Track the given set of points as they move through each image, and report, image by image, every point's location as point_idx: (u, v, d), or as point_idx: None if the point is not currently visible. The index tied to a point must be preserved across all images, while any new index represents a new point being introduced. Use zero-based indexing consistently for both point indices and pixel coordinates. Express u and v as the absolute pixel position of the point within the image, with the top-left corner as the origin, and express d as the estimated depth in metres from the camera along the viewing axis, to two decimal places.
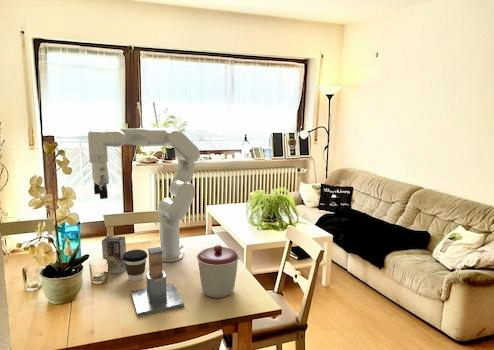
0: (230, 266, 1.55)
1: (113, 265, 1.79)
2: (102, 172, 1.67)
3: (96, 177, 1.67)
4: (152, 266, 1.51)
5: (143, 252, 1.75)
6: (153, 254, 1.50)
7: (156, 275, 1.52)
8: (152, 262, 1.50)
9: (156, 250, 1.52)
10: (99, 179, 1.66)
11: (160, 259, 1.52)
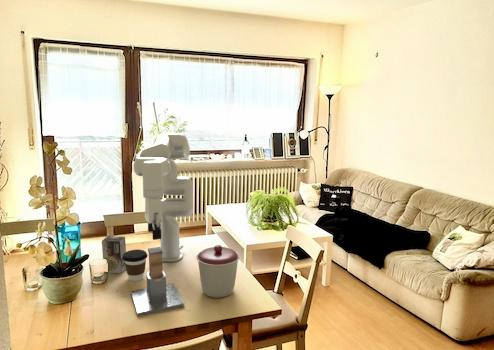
0: (230, 266, 1.55)
1: (113, 265, 1.79)
2: None
3: None
4: (152, 266, 1.51)
5: (143, 252, 1.75)
6: (153, 254, 1.50)
7: (156, 275, 1.52)
8: (152, 262, 1.50)
9: (156, 250, 1.52)
10: None
11: (160, 259, 1.52)
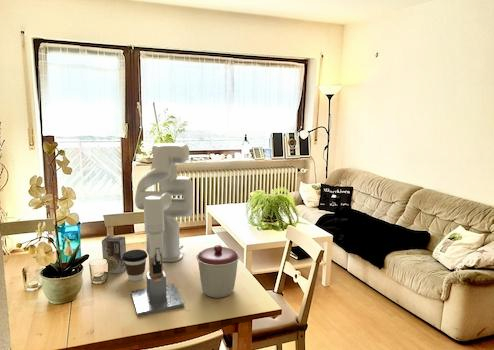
0: (230, 266, 1.55)
1: (113, 265, 1.79)
2: None
3: None
4: (152, 266, 1.51)
5: (143, 252, 1.75)
6: None
7: (156, 275, 1.52)
8: (152, 262, 1.50)
9: None
10: None
11: None
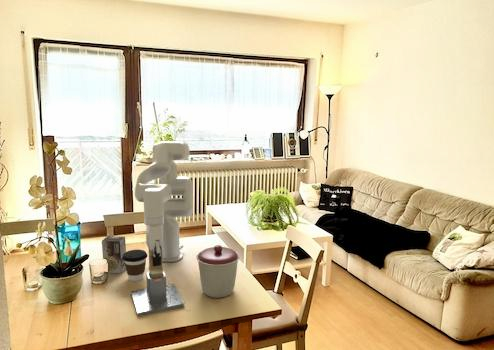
0: (230, 266, 1.55)
1: (113, 265, 1.79)
2: None
3: None
4: (152, 258, 1.50)
5: (143, 252, 1.75)
6: None
7: (156, 268, 1.51)
8: (152, 254, 1.50)
9: None
10: None
11: (160, 251, 1.51)
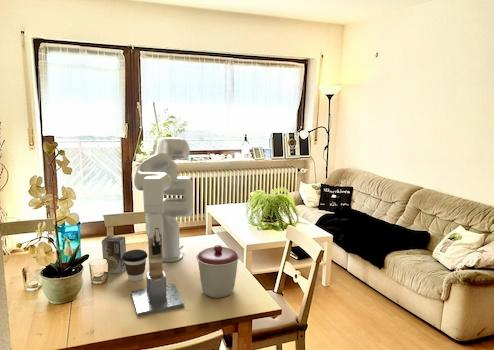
0: (230, 266, 1.55)
1: (113, 265, 1.79)
2: None
3: None
4: (151, 247, 1.49)
5: (143, 252, 1.75)
6: None
7: (155, 256, 1.51)
8: (151, 243, 1.49)
9: None
10: None
11: None
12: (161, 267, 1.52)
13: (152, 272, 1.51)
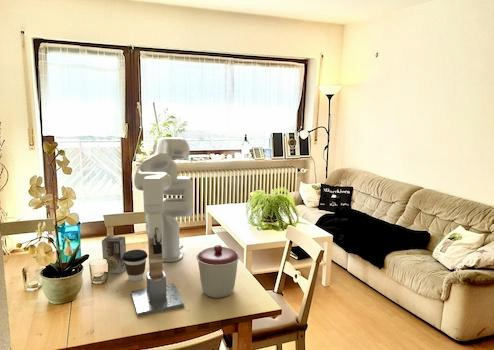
0: (230, 266, 1.55)
1: (113, 265, 1.79)
2: None
3: None
4: (151, 247, 1.49)
5: (143, 252, 1.75)
6: None
7: (155, 256, 1.51)
8: (151, 243, 1.49)
9: None
10: None
11: None
12: (161, 267, 1.52)
13: (152, 272, 1.51)
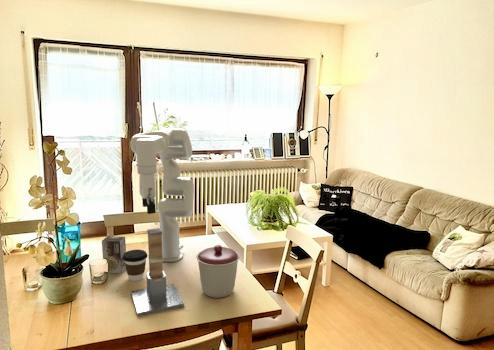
0: (230, 266, 1.55)
1: (113, 265, 1.79)
2: None
3: None
4: (151, 247, 1.49)
5: (143, 252, 1.75)
6: (153, 235, 1.48)
7: (155, 256, 1.51)
8: (151, 243, 1.49)
9: (155, 231, 1.50)
10: None
11: (159, 240, 1.50)
12: (161, 267, 1.52)
13: (152, 272, 1.51)
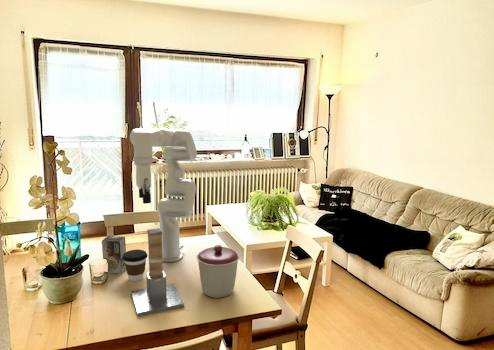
0: (230, 266, 1.55)
1: (113, 265, 1.79)
2: None
3: None
4: (151, 247, 1.49)
5: (143, 252, 1.75)
6: (153, 235, 1.48)
7: (155, 256, 1.51)
8: (151, 243, 1.49)
9: (155, 231, 1.50)
10: None
11: (159, 240, 1.50)
12: (161, 267, 1.52)
13: (152, 272, 1.51)
